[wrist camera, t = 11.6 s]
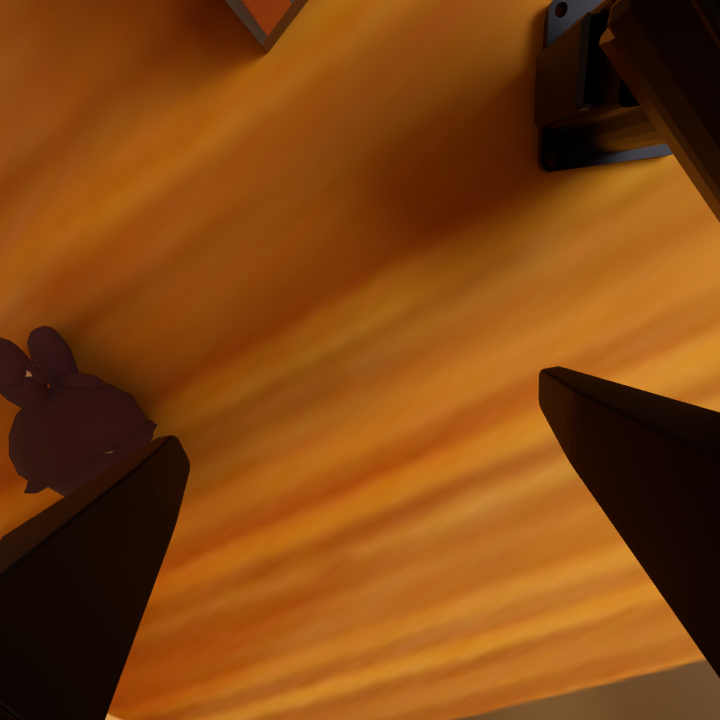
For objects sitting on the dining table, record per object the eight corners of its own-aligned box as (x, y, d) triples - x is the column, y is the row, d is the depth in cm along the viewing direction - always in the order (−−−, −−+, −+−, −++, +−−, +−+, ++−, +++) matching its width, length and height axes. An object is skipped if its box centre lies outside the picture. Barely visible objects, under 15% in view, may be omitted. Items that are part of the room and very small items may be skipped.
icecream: (194, 560, 21) (39, 313, 17) (66, 615, 21) (-125, 374, 17) (218, 490, 28) (111, 300, 24) (122, 530, 27) (-4, 344, 23)
